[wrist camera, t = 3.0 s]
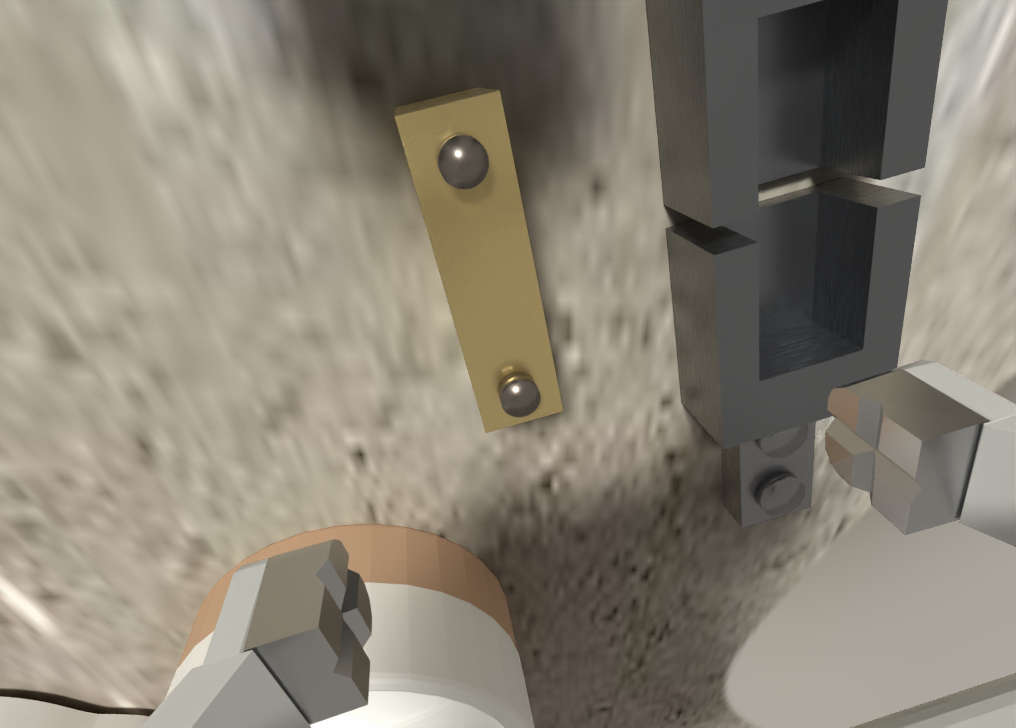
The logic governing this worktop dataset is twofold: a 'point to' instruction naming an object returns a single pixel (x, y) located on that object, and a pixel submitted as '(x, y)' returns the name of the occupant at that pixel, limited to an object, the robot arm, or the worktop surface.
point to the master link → (482, 250)
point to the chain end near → (788, 94)
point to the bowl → (412, 632)
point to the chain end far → (787, 327)
